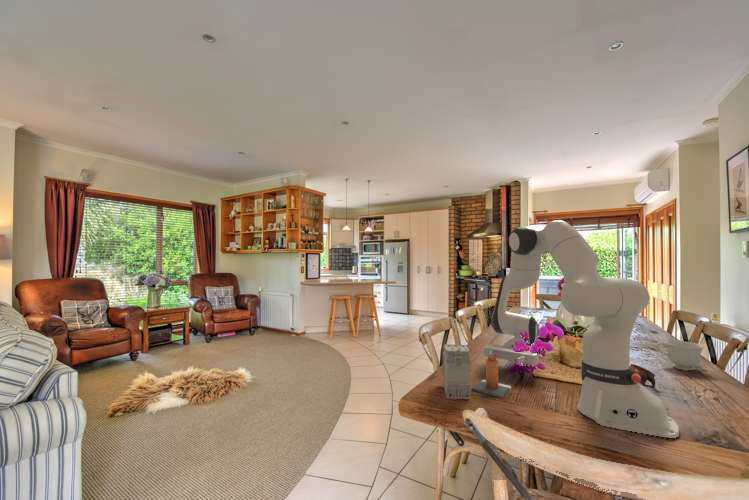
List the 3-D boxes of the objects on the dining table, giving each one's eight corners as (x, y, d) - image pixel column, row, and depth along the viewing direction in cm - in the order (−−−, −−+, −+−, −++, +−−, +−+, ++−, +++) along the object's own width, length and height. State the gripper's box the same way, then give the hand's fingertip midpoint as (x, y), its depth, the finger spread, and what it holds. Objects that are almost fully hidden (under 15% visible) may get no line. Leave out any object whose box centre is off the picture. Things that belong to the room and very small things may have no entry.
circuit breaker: (463, 382, 120) (463, 340, 120) (470, 398, 105) (470, 351, 106) (442, 381, 120) (442, 340, 121) (446, 397, 106) (446, 350, 107)
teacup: (651, 361, 145) (651, 338, 145) (697, 366, 138) (696, 342, 138) (661, 369, 134) (660, 344, 134) (710, 375, 127) (710, 349, 127)
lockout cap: (500, 386, 113) (499, 356, 114) (496, 390, 110) (495, 359, 111) (488, 384, 116) (488, 354, 116) (484, 387, 113) (483, 357, 113)
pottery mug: (613, 380, 123) (623, 361, 123) (643, 396, 119) (653, 376, 119) (625, 383, 112) (636, 361, 113) (657, 401, 108) (668, 378, 109)
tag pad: (511, 388, 114) (511, 386, 114) (501, 397, 106) (501, 395, 106) (482, 381, 120) (482, 379, 120) (471, 390, 112) (471, 387, 112)
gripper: (489, 339, 140) (476, 345, 129) (542, 346, 127) (532, 354, 116) (489, 354, 140) (476, 361, 129) (542, 363, 127) (532, 373, 116)
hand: (503, 358), depth 122 cm, fingers open, 8 cm apart
